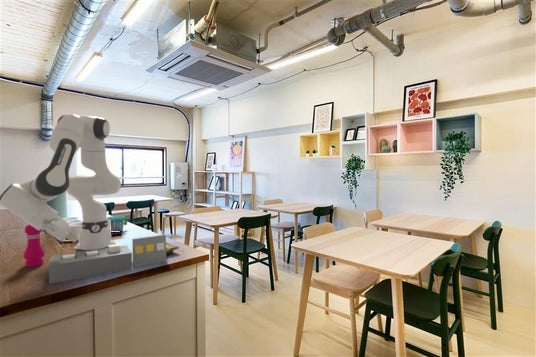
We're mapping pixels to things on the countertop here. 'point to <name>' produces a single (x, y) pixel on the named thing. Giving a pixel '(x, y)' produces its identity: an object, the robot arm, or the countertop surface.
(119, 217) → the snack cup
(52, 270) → the console
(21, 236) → the countertop surface
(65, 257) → the key left
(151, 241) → the card
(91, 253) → the key middle
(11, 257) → the countertop surface
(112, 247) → the key right
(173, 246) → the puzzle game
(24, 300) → the countertop surface
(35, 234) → the pepper mill
